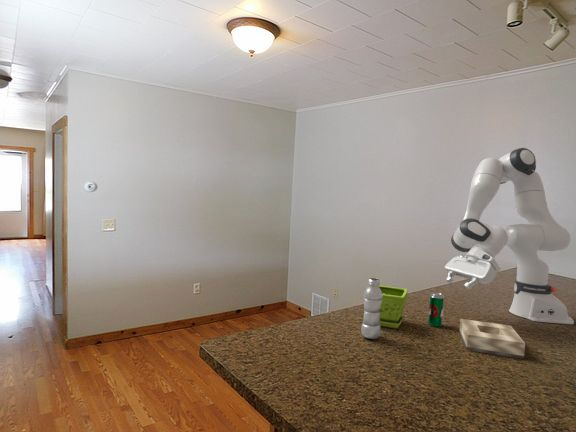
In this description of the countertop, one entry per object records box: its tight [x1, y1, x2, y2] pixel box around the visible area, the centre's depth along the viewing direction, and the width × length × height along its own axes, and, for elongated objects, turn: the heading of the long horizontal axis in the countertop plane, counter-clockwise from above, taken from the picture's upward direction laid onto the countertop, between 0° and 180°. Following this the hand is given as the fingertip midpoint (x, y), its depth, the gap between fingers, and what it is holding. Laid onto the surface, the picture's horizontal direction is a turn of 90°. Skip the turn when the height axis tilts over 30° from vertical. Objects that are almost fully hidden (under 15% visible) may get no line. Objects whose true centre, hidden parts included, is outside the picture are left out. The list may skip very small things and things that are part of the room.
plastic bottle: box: [360, 277, 384, 340], centre depth 121 cm, size 6×7×20 cm
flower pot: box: [379, 285, 409, 329], centre depth 136 cm, size 14×14×13 cm
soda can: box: [427, 292, 445, 328], centre depth 137 cm, size 5×5×12 cm
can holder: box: [458, 318, 526, 360], centre depth 121 cm, size 16×16×5 cm
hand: (456, 284), depth 140 cm, fingers open, 8 cm apart
